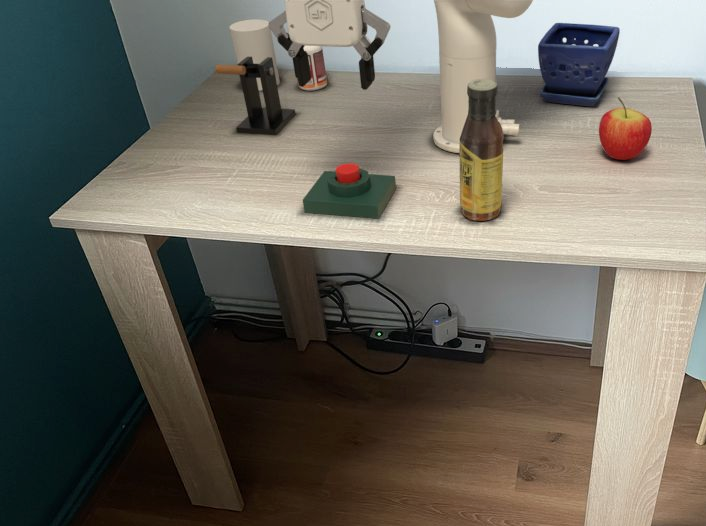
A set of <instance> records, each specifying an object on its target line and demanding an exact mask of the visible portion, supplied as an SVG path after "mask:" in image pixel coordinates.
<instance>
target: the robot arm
mask: <svg viewBox="0 0 706 526" xmlns="http://www.w3.org/2000/svg"><path fill="white" fill-rule="evenodd" d="M365 2H366V1H365V0H284V4H285V5H284V6H285V10H284V11H282V12H281V13H280V14H279V15H277V16H275V17H274V18H273V19H271V20H270V21H268V22H269V24H268V25H269V28H270V29H271V33H272V34H273V35H274V37H275V38H276V39H277V43H278V44H279V45H280V46H281V47H282V48H283V49H285V51H286V52H287V54H288V56H289V58H291V59H292V65H293V70H294V76H295V78H296V79H297V78H298V80H297V84H298V83H299V85H298V87H299V86H305V85H306V84H307V83H308V82H309V81H310V80H311V73H310V66H309V59H308V53H307V52H306V51H304V49H303V48H304V47H305V45H306V46H322V47H329V48H331V47H333V48H350V47H353V49H354V50H355V51H356V52H357V53H358V55H359V56H360V59H359V61H358V69H359V80H360V88H361V89H362V91H363V90H364V91H367V90H368V89H369V88H370V87H371V85H372V84H373V82H375V79H376V71H375V70H376V69H375V59H374V55H375V54H376V53H377V52H378V51H379V49H380V48H381V47H382V46H383V45H384V43H385V40H387V39H386V38H387V36H388V34H389V33H390V30H391V24H390V23H389V22H388V21H386V20H385V19H383V18H381V17H380V16H379V15H376V14H375V13H374V12H372V11H370V9H369V10H368V9H367V8H366V3H365ZM533 2H534V0H433V4H434V8H435V13H436V20H437V30H438V32H437V33H438V57H439V59H438V60H439V61H438V63H439V87H440V89H439V91H440V92H439V93H440V114H441V116H440V117H441V118H440V120H441V125H440V126H438V127H437V128H436V129H435V130H434V132H433V134H432V137H433V143H434V145H435V146H437V147H438V148H439V149H442V150H443V151H446V152H450V153H454V154H460V148H459V146H460V136H461V133H462V130H463V127H464V124H465V121H466V118H467V115H468V109H469V103H468V100H469V97H468V95H467V86H468V83H470V82H471V81H473V80H476V79H489V80H493V81H495V82H496V83H497V32H496V31H497V30H496V27H495V24H494V20H493V16H494V17H497V18H498V17H499V18H506V19H514V18H517V17H520V16H522V15H523V14H524V13H525V12H526V11H527V10H528V9H529V8H530V6H531V5H532V4H533ZM285 24H286V26H287V32H286V29H285V27H284V25H285ZM368 26H369V27H371V28H372V29H374V30H375V32H376V34H375V36H374V39H373V40H372V41H371V40H370V39H369V37H368V36H367V34H368ZM495 116H496V118H497V120H498V122H500V125H501V127H502V130H503V140H504V138H505V135H508V136H518V137H519V136H520V130H521V123H516V119H511V118H510V119H503V117H500V109H496V115H495Z"/></svg>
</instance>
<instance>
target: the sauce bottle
mask: <svg viewBox="0 0 706 526" xmlns="http://www.w3.org/2000/svg"><path fill="white" fill-rule="evenodd" d="M467 95H468V97H469V100H468V103H469V109H468V115H467V118H466V121H465V124H464V127H463V130H462V133H461V136H460V146H459V148H460V153H459V204H460V212H461V214H462V215H463V216H464V217H465V218H467V219H468V220H470V221H479V222H483V221H485V222H486V221H490V220H493V219H496V218H497V217H498V216H499V214H500V212H501V205H502V195H503V172H504V170H503V169H504V167H503V166H504V148H503V147H504V144H503V143H504V139H503V130H502V127H501V125H500V122H498V120H497V118H496V116H495V115H496V110H497V109H496V103H497V96H498V83H497V81H496V82H495V81H493V80H489V79H476V80H473V81H471V82H470V83H468V86H467Z"/></svg>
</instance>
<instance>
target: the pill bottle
mask: <svg viewBox="0 0 706 526" xmlns="http://www.w3.org/2000/svg"><path fill="white" fill-rule="evenodd" d="M303 49H304V51H306V52H307V53H308V59H309V66H310V73H311V80H310V81H309V82H308V83H307V84H306V85H305V86H299V83H298V82H297V85H298V88H299V89H301V90H303V91H308V92H312V91H318V90H321V89H324V88H325V87H327V86H328V77H327V72H326V65H325V58H324V50H323V46H306V45H305V47H304V48H303ZM296 80H297V81H298V78H296Z"/></svg>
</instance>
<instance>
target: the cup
mask: <svg viewBox="0 0 706 526" xmlns="http://www.w3.org/2000/svg"><path fill="white" fill-rule="evenodd" d="M269 22H270V21H268V20H265V19H245V20H240V21H236V22H234V23H232V24H230V26H229V32H230V36H231V41H232V46H233V51H234V55H235V61H236V65H237V64H239V63H240V62H241V61H242V60H244V59H245V58H246V57H247V56H249V57H252V59H253V64H260V63H261V62H262V61H263V60H265V59H266V58H267V57H272V59H273V65H274V71H275V76H276V82H277V86H279V85H280V83H281V81H280V76H279V70H278V63H277V58H276V53H275V46H274V41H273V35H272V34H273V33H272V31H271V29H270V28H269V25H268V24H269ZM256 79H257V84H258V89H259V92H261V91H263V90H262V85H261V80H260V78H256ZM240 84H241V83H240ZM241 86H242V84H241Z"/></svg>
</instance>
